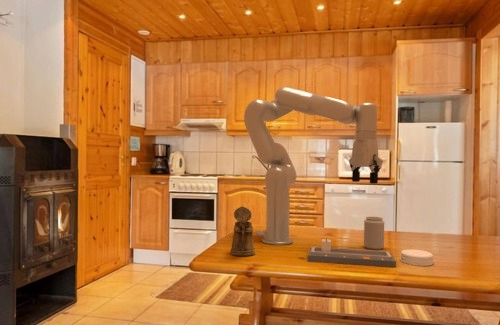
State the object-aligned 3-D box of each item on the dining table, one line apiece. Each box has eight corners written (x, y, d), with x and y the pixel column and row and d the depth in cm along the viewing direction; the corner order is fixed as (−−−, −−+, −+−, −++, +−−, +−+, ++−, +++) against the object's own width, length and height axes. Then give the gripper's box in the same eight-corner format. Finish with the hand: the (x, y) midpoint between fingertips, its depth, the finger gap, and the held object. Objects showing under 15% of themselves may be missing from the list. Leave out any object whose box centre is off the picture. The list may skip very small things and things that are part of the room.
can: (385, 250, 144) (385, 219, 144) (364, 249, 145) (365, 218, 145) (382, 246, 151) (382, 216, 151) (362, 245, 153) (363, 215, 153)
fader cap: (321, 253, 130) (321, 240, 130) (322, 250, 134) (322, 237, 134) (330, 253, 129) (330, 240, 129) (330, 250, 133) (330, 238, 133)
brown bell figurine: (227, 259, 127) (228, 206, 127) (231, 250, 141) (232, 201, 140) (254, 260, 127) (255, 206, 127) (255, 250, 140) (256, 202, 140)
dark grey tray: (307, 261, 127) (307, 252, 127) (309, 252, 139) (309, 245, 139) (396, 267, 121) (396, 258, 121) (390, 258, 133) (390, 250, 133)
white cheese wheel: (406, 257, 135) (406, 247, 135) (436, 262, 129) (436, 252, 129) (396, 263, 127) (396, 252, 127) (428, 268, 121) (428, 257, 121)
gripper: (343, 137, 148) (341, 180, 148) (374, 135, 132) (372, 184, 132) (358, 138, 151) (357, 180, 151) (390, 136, 135) (389, 184, 135)
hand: (364, 182), depth 141 cm, fingers open, 9 cm apart
